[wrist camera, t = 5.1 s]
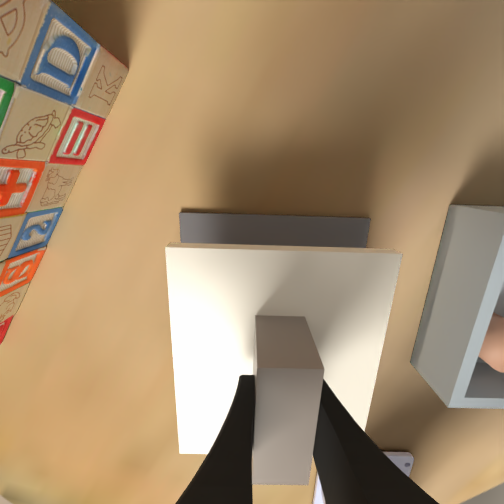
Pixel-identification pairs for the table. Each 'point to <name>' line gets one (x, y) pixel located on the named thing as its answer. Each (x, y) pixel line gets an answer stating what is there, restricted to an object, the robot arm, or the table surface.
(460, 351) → the box
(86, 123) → the stack of blocks
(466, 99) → the table surface
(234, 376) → the lid
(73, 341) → the table surface
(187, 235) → the mat
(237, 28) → the table surface
